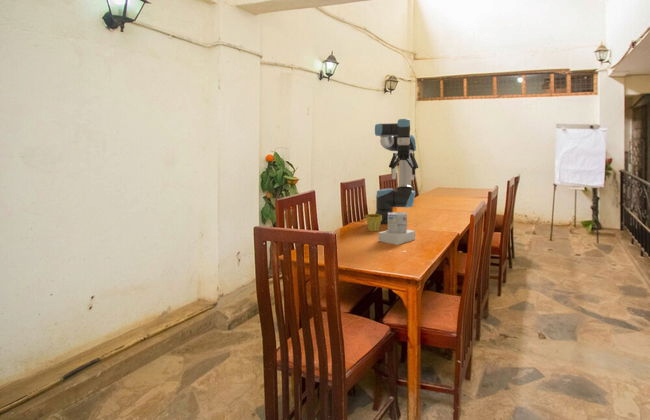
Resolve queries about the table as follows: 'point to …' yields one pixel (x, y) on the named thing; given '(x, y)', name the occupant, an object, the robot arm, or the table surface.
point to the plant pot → (373, 221)
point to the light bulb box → (397, 222)
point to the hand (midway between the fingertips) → (402, 179)
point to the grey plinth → (396, 237)
